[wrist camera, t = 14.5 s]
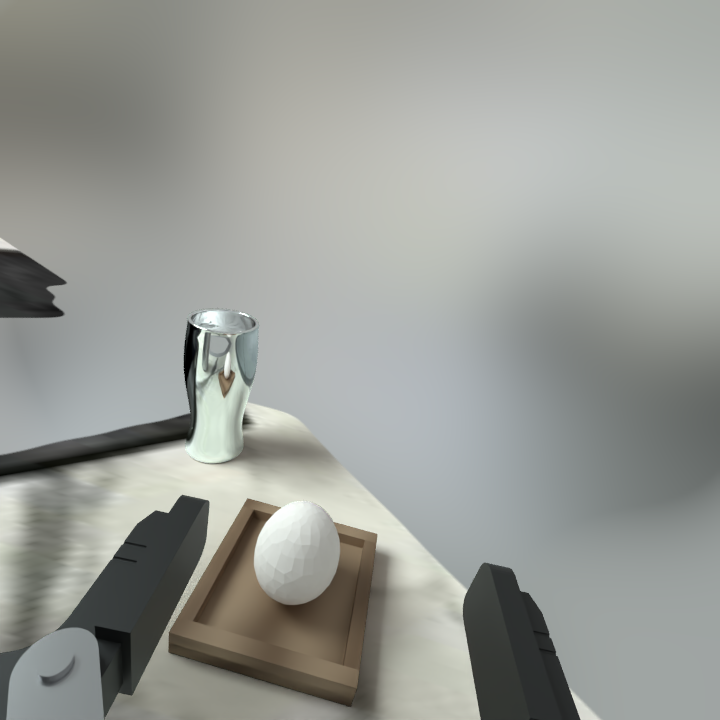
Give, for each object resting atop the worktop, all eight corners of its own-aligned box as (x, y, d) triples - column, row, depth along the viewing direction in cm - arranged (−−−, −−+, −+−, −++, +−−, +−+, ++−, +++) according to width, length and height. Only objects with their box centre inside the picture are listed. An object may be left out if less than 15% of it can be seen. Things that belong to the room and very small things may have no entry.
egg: (231, 591, 29) (240, 513, 26) (286, 539, 34) (299, 468, 31) (296, 646, 26) (315, 567, 23) (345, 581, 31) (365, 508, 28)
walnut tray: (168, 652, 25) (169, 632, 24) (245, 515, 36) (247, 498, 35) (350, 706, 25) (357, 688, 24) (372, 550, 36) (377, 534, 35)
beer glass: (196, 423, 47) (202, 302, 41) (254, 434, 47) (268, 316, 41) (168, 460, 41) (171, 323, 35) (236, 472, 41) (250, 339, 35)
